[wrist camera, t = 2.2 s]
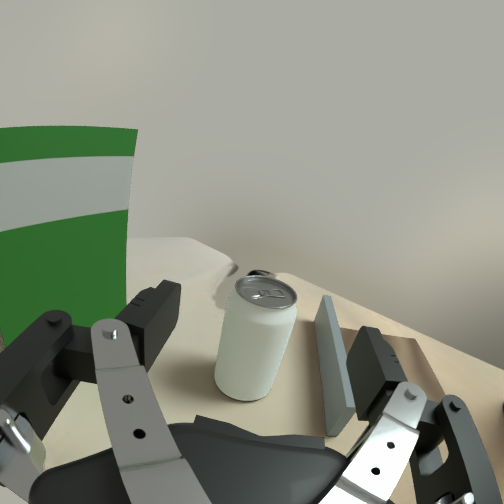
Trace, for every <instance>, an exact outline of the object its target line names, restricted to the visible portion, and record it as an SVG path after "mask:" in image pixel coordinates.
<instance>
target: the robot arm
mask: <svg viewBox="0 0 504 504" xmlns="http://www.w3.org/2000/svg"><path fill="white" fill-rule="evenodd" d="M180 295H181V284H179V283H175V282H171V281H168V280H163V281H162V282H161V283H160V284H159V285H158V286H157V287H156V288H152V287H149V288H147V289H145V290H142V291H140V292H139V293H138V294H137V295H136V296H135V298H133V299H132V301H131V302H130V303H129V304H128V305H127V306H126V307H125V308H124V309H123V310H122V311H121V312H120V313H119V314H118V315H117V316H116V317H115V318H114V319H102V320H99V321H97V322H96V323H94V324H93V326H92V327H84V326H78V325H73V323H72V318H71V316H70V315H69V314H68V313H67V312H65V311H62V310H50V311H47V312H45V313H43V314H42V315H41V316H39V317H38V318H37V319H36V320H35V321H34V322H33V323H32V324H31V325H29V326H28V327H27V328H26V329H25V330H24V331H23V332H22V333H21V334H20V335H19V336H18V337H17V338H16V339H15V340H14V341H12V342H11V343H10V344H9V345H8V346H7V347H6V348H5V349H4V350H3V351H2V352H1V353H0V485H1V486H3V487H7V488H9V489H10V490H11V491H13V492H14V493H15V494H17V495H18V496H19V497H21V498H22V499H24V500H25V501H26V502H28V503H29V504H394V503H393V502H392V501H391V500H390V499H389V496H390V494H391V492H392V491H393V489H394V487H395V485H396V483H397V481H398V480H399V478H400V476H401V474H402V472H403V470H404V468H405V466H406V463H407V461H408V459H409V462H410V467H411V472H412V478H413V483H414V489H415V495H416V502H417V504H503V503H502V499H501V495H500V492H499V488H498V485H497V482H496V479H495V476H494V473H493V470H492V467H491V464H490V461H489V458H488V456H487V453H486V450H485V448H484V445H483V443H482V440H481V438H480V435H479V433H478V431H477V428H476V426H475V424H474V421H473V419H472V417H471V415H470V413H469V410H468V408H467V406H466V404H465V403H464V402H463V400H461V399H460V398H459V397H457V396H455V395H446V396H445V397H444V398H443V399H442V400H441V402H440V403H438V402H434V401H431V400H427V397H426V394H425V392H424V391H423V389H422V388H421V387H419V386H418V385H416V384H414V383H412V382H408V380H407V377H406V375H405V373H404V371H403V368H402V366H401V364H400V363H399V360H398V358H397V357H396V356H397V355H396V353H395V351H394V349H393V348H392V346H391V345H390V344H389V343H388V342H387V341H385V340H384V339H383V337H382V335H381V332H380V330H379V329H378V328H372V327H366V326H362V327H361V328H360V330H359V332H358V334H357V336H356V338H355V340H354V342H353V344H352V346H351V348H350V350H349V352H348V355H347V359H346V367H347V372H348V376H349V380H350V385H351V389H352V394H353V398H354V403H355V408H356V412H357V417H358V420H359V421H369V425H368V426H367V427H366V429H365V430H364V431H363V433H362V434H361V436H360V437H359V438H358V440H357V441H356V443H355V444H354V445H353V447H352V448H351V449H350V451H349V452H348V453H347V455H346V456H344V455H342V454H341V453H339V452H337V451H335V450H333V449H331V448H328V447H325V444H324V437H313V436H303V435H281V436H259V435H256V434H253V433H251V432H248V431H246V430H244V429H241V428H239V427H237V426H234V425H232V424H230V423H227V422H222V421H218V420H214V419H210V418H207V417H203V416H199V415H196V417H195V420H194V423H174V424H168V425H167V424H166V421H165V419H164V417H163V414H162V412H161V409H160V407H159V405H158V402H157V400H156V397H155V395H154V392H153V389H152V387H151V384H150V381H149V379H148V376H147V373H148V371H149V369H150V368H151V366H152V364H153V363H154V361H155V359H156V358H157V356H158V354H159V353H160V351H161V349H162V348H163V346H164V344H165V343H166V341H167V339H168V338H169V336H170V335H171V333H172V331H173V330H174V328H175V326H176V323H177V320H178V315H179V305H180ZM80 381H83V382H89V383H94V384H97V385H98V390H99V395H100V400H101V405H102V409H103V414H104V418H105V422H106V426H107V430H108V434H109V438H110V441H111V445H112V448H109V449H106V450H104V451H101V452H99V453H96V454H93V455H90V456H88V457H85V458H82V459H79V460H76V461H73V462H70V463H67V464H64V465H60V466H57V467H54V468H51V469H48V470H46V471H44V472H43V463H44V460H45V456H46V451H45V447H44V445H43V443H42V440H43V438H44V437H45V435H46V433H47V432H48V430H49V429H50V427H51V425H52V424H53V422H54V421H55V419H56V417H57V416H58V414H59V413H60V411H61V410H62V408H63V407H64V405H65V404H66V402H67V401H68V399H69V398H70V396H71V395H72V393H73V392H74V390H75V389H76V387H77V386H78V384H79V383H80ZM444 439H445V442H446V445H447V448H448V451H449V455H448V458H447V460H446V462H445V463H444V464H443V461H442V458H441V454H440V451H439V448H438V445H439V444H440V443H441V442H442V441H443V440H444Z"/></svg>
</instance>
